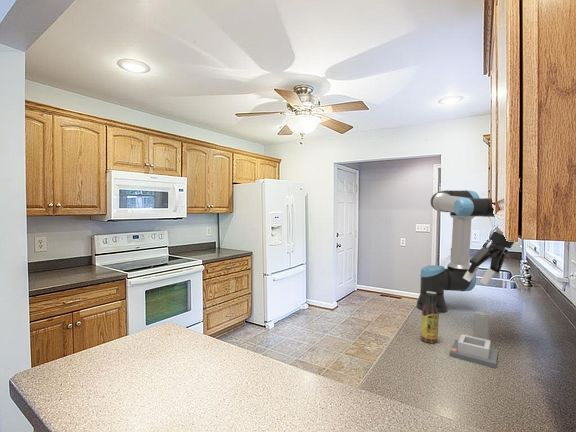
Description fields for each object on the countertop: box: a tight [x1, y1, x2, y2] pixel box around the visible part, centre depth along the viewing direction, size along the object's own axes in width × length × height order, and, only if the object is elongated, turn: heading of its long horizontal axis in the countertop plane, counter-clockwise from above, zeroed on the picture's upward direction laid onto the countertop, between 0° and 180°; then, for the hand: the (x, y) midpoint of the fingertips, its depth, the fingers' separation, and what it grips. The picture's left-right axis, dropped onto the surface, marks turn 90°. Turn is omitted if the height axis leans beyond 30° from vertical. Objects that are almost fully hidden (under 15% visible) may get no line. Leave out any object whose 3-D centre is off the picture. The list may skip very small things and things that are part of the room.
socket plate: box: [449, 334, 499, 369], centre depth 114 cm, size 14×14×5 cm
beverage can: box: [473, 311, 490, 340], centre depth 124 cm, size 5×5×12 cm
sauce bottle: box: [420, 291, 440, 344], centre depth 126 cm, size 6×6×20 cm
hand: (475, 281), depth 123 cm, fingers open, 13 cm apart
